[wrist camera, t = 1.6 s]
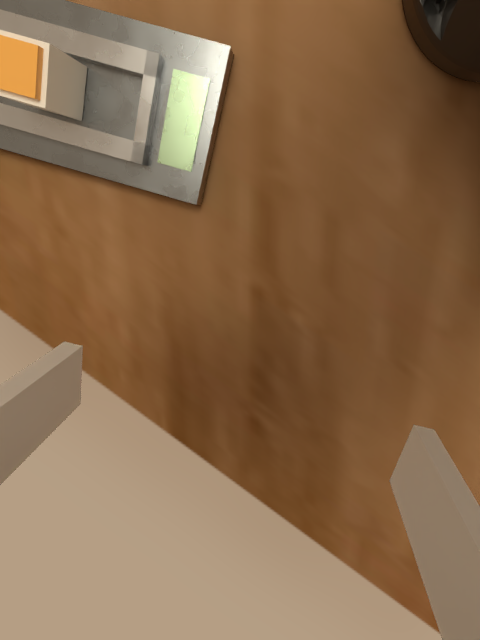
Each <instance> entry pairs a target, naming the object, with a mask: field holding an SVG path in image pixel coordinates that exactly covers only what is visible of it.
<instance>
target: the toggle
mask: <svg viewBox="0 0 480 640" xmlns="http://www.w3.org/2000/svg"><path fill="white" fill-rule="evenodd" d="M86 75H87V67H86V66H85V65H83V64H82V63H80V62H78V61H77V60H75V59H74V58H72V57H70V56H69V55H67V54H66V53H64V52H62V51H61V50H59V49H58V48H56V47H55V46H53V45H51V44H50V43H46V42H43V41H39V40H36V39H32V38H28V37H25V36H21V35H18V34H14V33H11V32H7V31H3V30H0V96H2V97H5V98H8V99H11V100H14V101H17V102H20V103H23V104H26V105H29V106H32V107H35V108H38V109H41V110H45V111H48V112H52V113H55V114H59V115H62V116H66V117H69V118H73V119H76V120H80V121H82V115H83V105H84V95H85V85H86Z"/></svg>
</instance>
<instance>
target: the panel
mask: <svg viewBox="0 0 480 640" xmlns="http://www.w3.org/2000/svg"><path fill="white" fill-rule="evenodd" d="M0 30H3V31H7V32H11V33H14V34H18V35H21V36H25V37H28V38H32V39H36V40H39V41H43V42H46V43H50V44H51V45H53V46H55V47H56V48H58V49H59V50H61V51H62V52H64V53H66V54H67V55H69V56H70V57H72V58H74V59H75V60H77V61H78V62H80V63H82V64H83V65H85V66H86V67H87V75H86V85H85V95H84V105H83V115H82V121H80V120H76V119H73V118H69V117H66V116H62V115H59V114H55V113H52V112H48V111H45V110H41V109H38V108H35V107H32V106H29V105H26V104H23V103H20V102H17V101H14V100H11V99H8V98H5V97H2V96H0V148H1V149H4V150H8V151H11V152H15V153H18V154H22V155H25V156H29V157H32V158H36V159H39V160H43V161H46V162H49V163H53V164H56V165H60V166H63V167H67V168H70V169H74V170H77V171H81V172H84V173H88V174H91V175H95V176H98V177H102V178H105V179H108V180H112V181H115V182H119V183H122V184H126V185H129V186H133V187H136V188H140V189H143V190H147V191H150V192H154V193H157V194H160V195H164V196H167V197H171V198H174V199H178V200H181V201H185V202H188V203H192V204H195V205H199V204H202V199H203V195H204V190H205V186H206V181H207V176H208V172H209V167H210V163H211V158H212V154H213V149H214V144H215V140H216V135H217V131H218V126H219V122H220V117H221V112H222V108H223V103H224V99H225V94H226V89H227V85H228V80H229V76H230V71H231V67H232V62H233V57H234V54H233V52H232V49H231V46H228V45H225V44H221V43H217V42H214V41H210V40H206V39H203V38H199V37H196V36H192V35H188V34H185V33H181V32H178V31H174V30H170V29H167V28H163V27H159V26H156V25H152V24H149V23H145V22H141V21H138V20H134V19H131V18H127V17H123V16H120V15H116V14H112V13H109V12H105V11H102V10H98V9H94V8H91V7H87V6H84V5H80V4H76V3H73V2H69V1H65V0H0Z"/></svg>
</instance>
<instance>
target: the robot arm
mask: <svg viewBox="0 0 480 640" xmlns="http://www.w3.org/2000/svg"><path fill="white" fill-rule="evenodd" d="M403 7H404V12H405V16H406V20H407V23H408V26H409V28H410V31H411V33H412V35H413V37H414V39H415V41H416V43H417V44H418V46H419V47H420V49H421V50H422V52H423V53H424V54H425V55H426V56H427V58H428V59H429V60H430V61H431V62H433V63H434V64H435V65H436V66H437V67H439V68H440V69H442V70H443V71H445V72H447V73H449V74H450V75H453V76H455V77H457V78H460V79H464V80H468V81H473V82H480V0H403ZM82 349H83V346H80V345H76V344H72V343H68V342H63V343H62V344H60V345H59V346H57V347H56V348H54V349H53V350H51V351H50V352H48V353H47V354H45V355H44V356H42V357H41V358H39V359H38V360H37V361H35V362H33V363H32V364H30V365H29V366H27V367H26V368H24V369H23V370H21V371H20V372H19V373H17V374H15V375H14V376H12V377H11V378H9V379H8V380H6V381H5V382H3V383H2V384H0V485H1V484H2V483H3V482H4V481H5V480H6V479H7V478H8V477H9V476H10V475H11V474H12V473H13V472H14V471H15V470H16V468H18V467H19V466H20V465H21V464H22V462H24V461H25V459H26V458H27V457H28V456H29V455H30V454H31V453H32V452H33V451H34V450H35V449H36V448H37V447H38V446H39V445H40V444H41V443H42V442H43V441H44V440H45V439H46V438H47V437H48V436H49V435H50V434H51V433H52V432H53V431H54V430H55V429H56V428H57V427H58V426H59V425H60V424H61V423H62V422H63V421H64V420H65V419H66V418H67V417H68V416H69V415H70V414H71V413H72V412H73V411H74V410H75V409H76V408H77V407H78V406H79V405H80V400H81V375H82ZM390 484H391V487H392V490H393V493H394V496H395V499H396V502H397V505H398V508H399V511H400V514H401V517H402V520H403V523H404V526H405V529H406V532H407V535H408V538H409V541H410V544H411V547H412V550H413V553H414V556H415V559H416V562H417V565H418V568H419V571H420V574H421V577H422V580H423V583H424V586H425V589H426V592H427V595H428V598H429V601H430V604H431V607H432V610H433V613H434V616H435V619H436V622H437V625H438V628H439V631H440V634H441V637H442V640H480V506H479V505H478V503H477V501H476V499H475V498H474V496H473V494H472V493H471V491H470V489H469V488H468V486H467V484H466V483H465V481H464V479H463V477H462V476H461V474H460V472H459V471H458V469H457V467H456V466H455V464H454V462H453V460H452V459H451V457H450V455H449V454H448V452H447V450H446V449H445V447H444V445H443V444H442V442H441V440H440V438H439V437H438V435H437V433H436V432H435V430H434V429H430V428H425V427H421V426H417V425H413V428H412V430H411V432H410V435H409V437H408V439H407V441H406V444H405V446H404V448H403V451H402V453H401V455H400V458H399V460H398V462H397V465H396V467H395V469H394V471H393V474H392V476H391V478H390Z"/></svg>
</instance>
